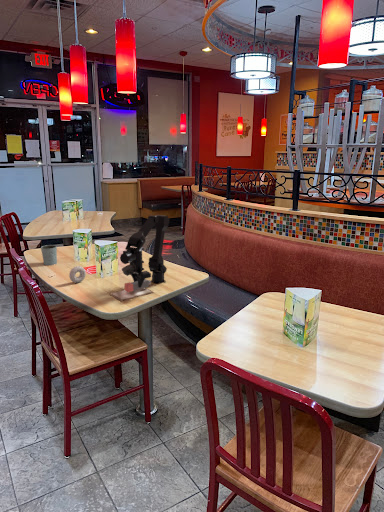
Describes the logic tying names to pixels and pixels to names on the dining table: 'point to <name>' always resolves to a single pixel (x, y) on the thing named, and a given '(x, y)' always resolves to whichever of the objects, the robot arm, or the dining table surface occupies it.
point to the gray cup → (49, 254)
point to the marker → (136, 285)
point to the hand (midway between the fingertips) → (138, 286)
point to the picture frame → (130, 294)
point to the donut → (81, 276)
